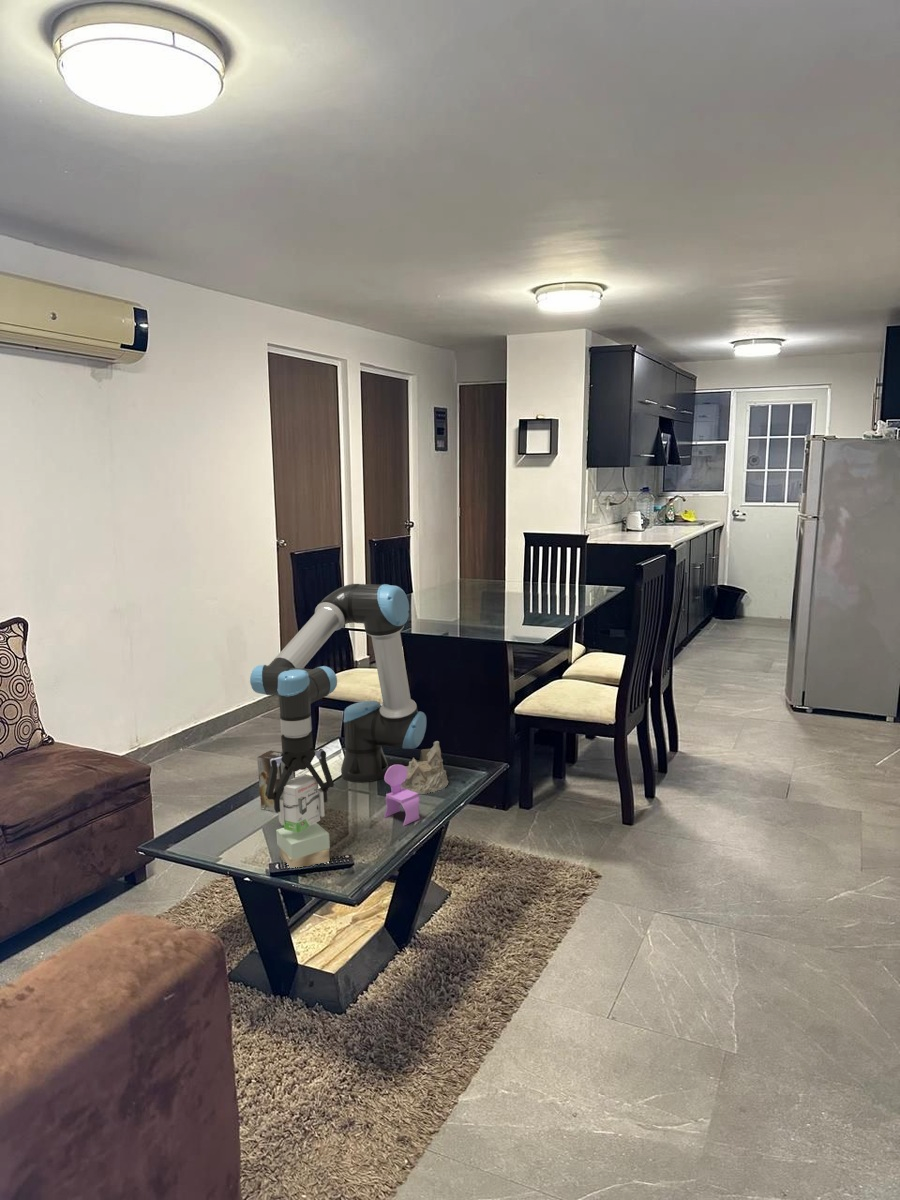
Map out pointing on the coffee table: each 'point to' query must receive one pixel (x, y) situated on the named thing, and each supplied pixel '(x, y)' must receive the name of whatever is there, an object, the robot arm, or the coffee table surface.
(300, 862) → the bottom slab
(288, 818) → the ink box
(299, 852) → the top slab
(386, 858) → the coffee table surface
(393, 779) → the toy chair
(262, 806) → the coffee box
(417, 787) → the ceramic cottage
